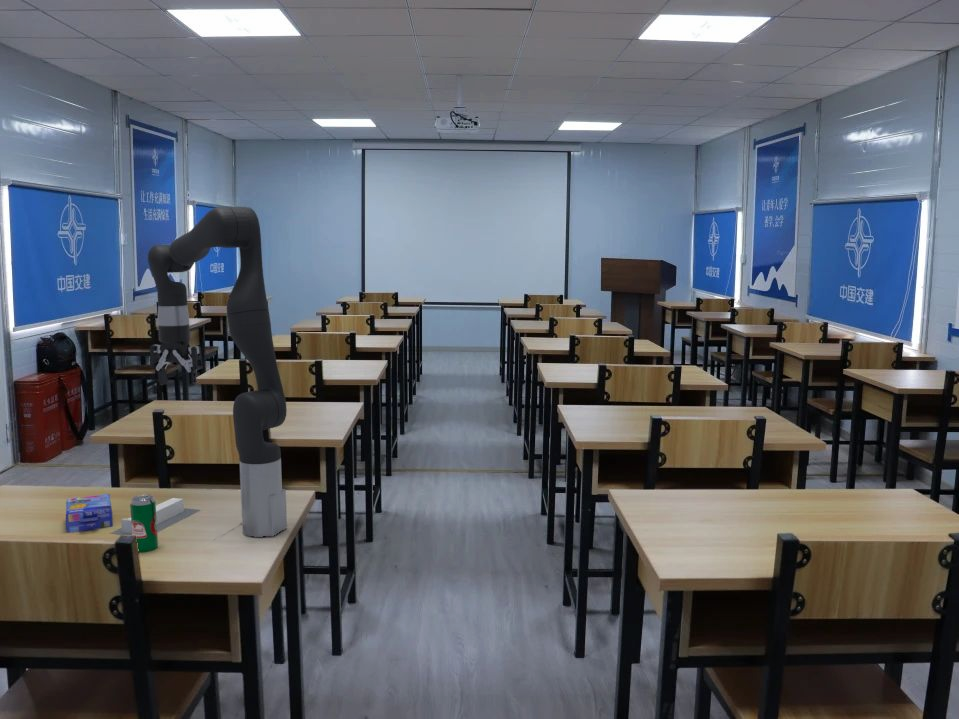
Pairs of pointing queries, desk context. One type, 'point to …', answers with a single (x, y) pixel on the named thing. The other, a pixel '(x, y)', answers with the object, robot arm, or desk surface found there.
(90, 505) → the ink cartridge box
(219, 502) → the desk surface
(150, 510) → the soda can
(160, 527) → the mat
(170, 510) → the white square rod
